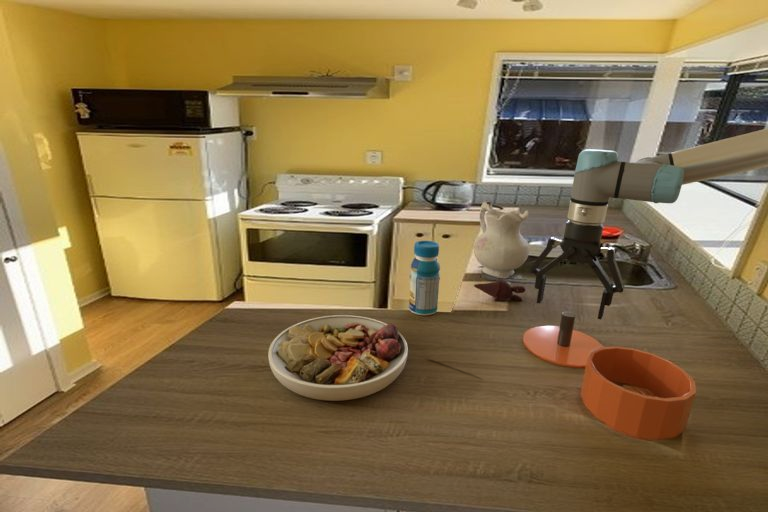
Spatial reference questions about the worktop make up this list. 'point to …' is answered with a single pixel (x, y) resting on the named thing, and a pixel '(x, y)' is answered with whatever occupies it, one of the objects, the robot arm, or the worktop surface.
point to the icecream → (501, 290)
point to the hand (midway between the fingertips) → (568, 309)
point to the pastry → (639, 390)
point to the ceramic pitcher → (501, 242)
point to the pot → (632, 408)
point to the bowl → (338, 357)
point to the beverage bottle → (424, 278)
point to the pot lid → (561, 343)
